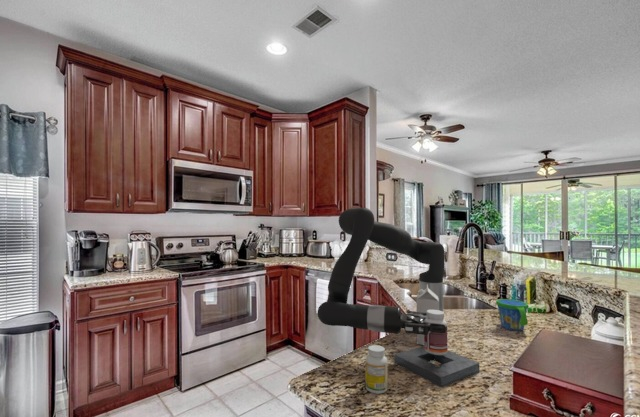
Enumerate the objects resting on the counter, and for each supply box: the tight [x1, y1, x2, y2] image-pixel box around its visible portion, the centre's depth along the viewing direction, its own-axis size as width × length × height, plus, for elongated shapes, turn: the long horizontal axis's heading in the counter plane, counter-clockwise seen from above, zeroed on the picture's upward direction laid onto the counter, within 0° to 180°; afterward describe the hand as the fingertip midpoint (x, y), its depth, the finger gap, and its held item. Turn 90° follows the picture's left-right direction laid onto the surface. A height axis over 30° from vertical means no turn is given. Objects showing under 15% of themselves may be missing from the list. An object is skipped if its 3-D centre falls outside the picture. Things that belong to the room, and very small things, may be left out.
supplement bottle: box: [364, 344, 389, 395], centre depth 76 cm, size 5×5×10 cm
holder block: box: [393, 345, 480, 388], centre depth 87 cm, size 16×16×2 cm
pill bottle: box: [423, 310, 449, 355], centre depth 88 cm, size 6×6×11 cm
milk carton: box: [416, 285, 439, 346], centre depth 107 cm, size 7×7×19 cm
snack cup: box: [495, 298, 529, 332], centre depth 122 cm, size 16×10×10 cm
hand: (444, 325), depth 87 cm, fingers closed on pill bottle, 6 cm apart
